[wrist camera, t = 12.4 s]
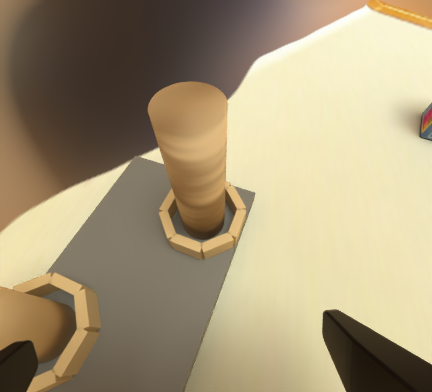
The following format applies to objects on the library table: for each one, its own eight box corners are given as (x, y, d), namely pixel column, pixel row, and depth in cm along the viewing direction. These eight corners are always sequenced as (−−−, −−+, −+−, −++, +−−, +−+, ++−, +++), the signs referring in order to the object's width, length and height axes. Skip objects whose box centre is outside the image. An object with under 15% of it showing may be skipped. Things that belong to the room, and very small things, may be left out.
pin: (230, 210, 23) (238, 90, 12) (215, 246, 21) (209, 141, 10) (193, 197, 24) (171, 75, 13) (176, 231, 22) (132, 120, 11)
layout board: (253, 200, 26) (282, 68, 14) (155, 469, 15) (-129, 991, 3) (138, 163, 29) (76, 30, 17) (-11, 364, 18) (-480, 401, 6)
